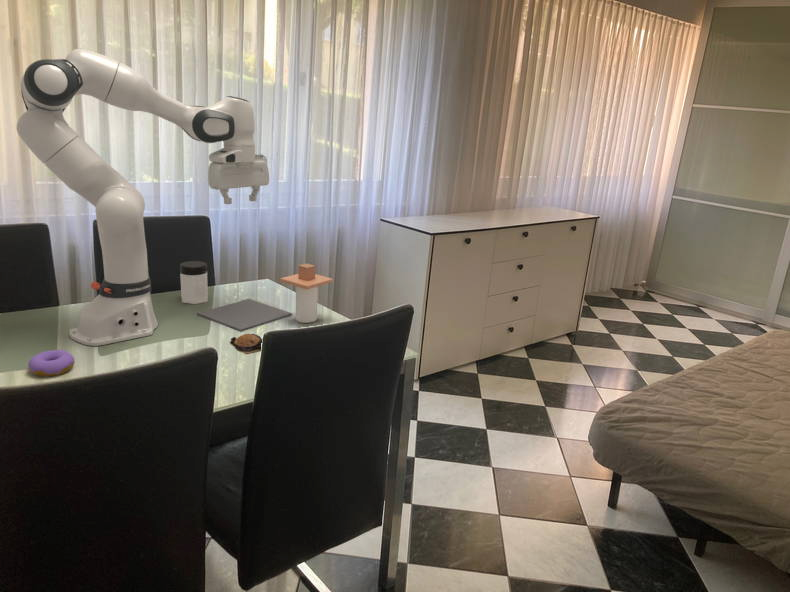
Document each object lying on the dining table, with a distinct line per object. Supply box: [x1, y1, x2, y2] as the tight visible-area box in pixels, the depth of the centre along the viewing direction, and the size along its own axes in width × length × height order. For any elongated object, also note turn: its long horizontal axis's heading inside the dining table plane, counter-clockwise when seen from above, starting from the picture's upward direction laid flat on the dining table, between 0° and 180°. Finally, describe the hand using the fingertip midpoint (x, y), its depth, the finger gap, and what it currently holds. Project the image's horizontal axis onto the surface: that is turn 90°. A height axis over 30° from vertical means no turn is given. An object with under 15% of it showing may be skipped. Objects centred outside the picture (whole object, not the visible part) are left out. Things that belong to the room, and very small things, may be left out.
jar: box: [179, 260, 209, 305], centre depth 195 cm, size 9×8×12 cm
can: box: [295, 286, 319, 324], centre depth 183 cm, size 6×6×12 cm
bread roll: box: [229, 333, 263, 355], centre depth 164 cm, size 11×8×4 cm
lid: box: [279, 263, 334, 290], centre depth 181 cm, size 11×11×5 cm
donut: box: [27, 349, 75, 377], centre depth 143 cm, size 10×9×5 cm
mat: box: [196, 298, 293, 332], centre depth 186 cm, size 20×20×1 cm
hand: (240, 202), depth 183 cm, fingers open, 8 cm apart
